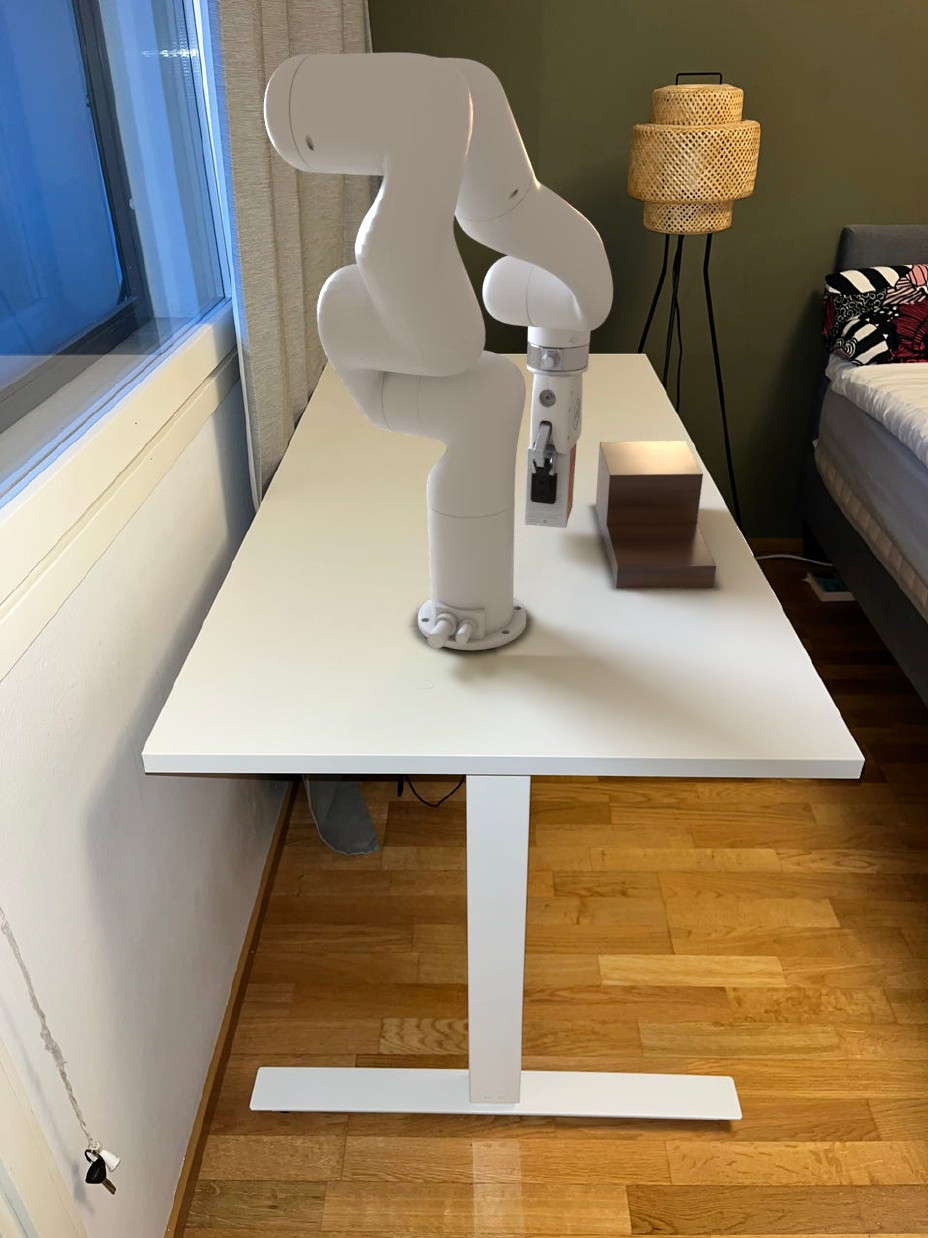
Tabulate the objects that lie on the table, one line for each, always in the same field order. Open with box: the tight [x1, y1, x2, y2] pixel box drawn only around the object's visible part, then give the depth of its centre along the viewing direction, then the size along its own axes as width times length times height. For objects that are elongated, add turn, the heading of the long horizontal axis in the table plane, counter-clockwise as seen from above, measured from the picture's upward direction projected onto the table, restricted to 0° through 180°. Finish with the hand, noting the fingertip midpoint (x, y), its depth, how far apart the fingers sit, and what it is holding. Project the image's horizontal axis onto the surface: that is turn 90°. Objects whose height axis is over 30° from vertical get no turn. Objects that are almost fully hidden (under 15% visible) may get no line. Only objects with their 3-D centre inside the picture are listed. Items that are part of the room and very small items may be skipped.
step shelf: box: [595, 440, 717, 589], centre depth 125 cm, size 24×12×10 cm, turn 179°
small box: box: [524, 441, 578, 529], centre depth 124 cm, size 8×6×10 cm
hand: (551, 489), depth 125 cm, fingers closed on small box, 8 cm apart
